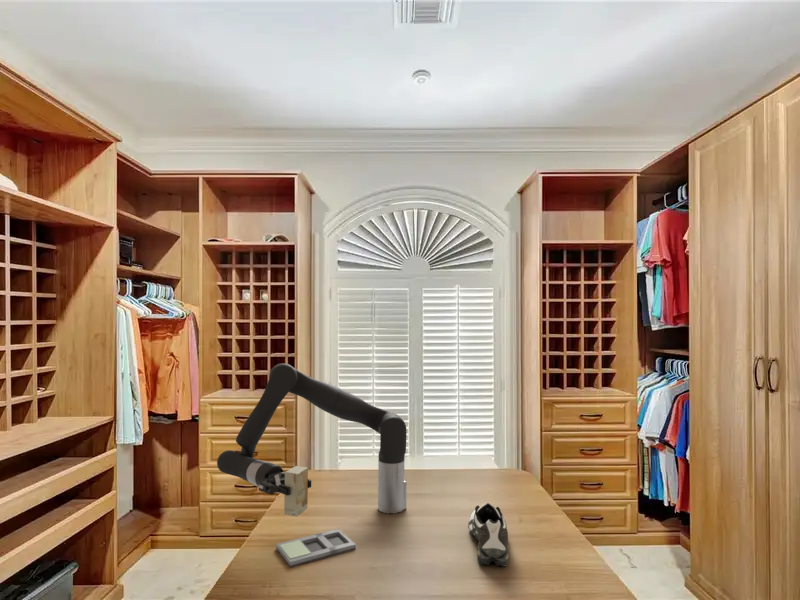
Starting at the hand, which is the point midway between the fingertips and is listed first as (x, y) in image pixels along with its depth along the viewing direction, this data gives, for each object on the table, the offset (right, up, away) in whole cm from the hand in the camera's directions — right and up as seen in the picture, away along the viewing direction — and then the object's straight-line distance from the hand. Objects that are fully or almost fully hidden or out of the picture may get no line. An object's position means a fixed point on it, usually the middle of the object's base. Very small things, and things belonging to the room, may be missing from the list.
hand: (300, 487), depth 143 cm
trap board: (+4, -20, +5) cm, 21 cm away
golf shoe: (+56, -21, +8) cm, 60 cm away
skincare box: (-1, -7, +1) cm, 8 cm away
